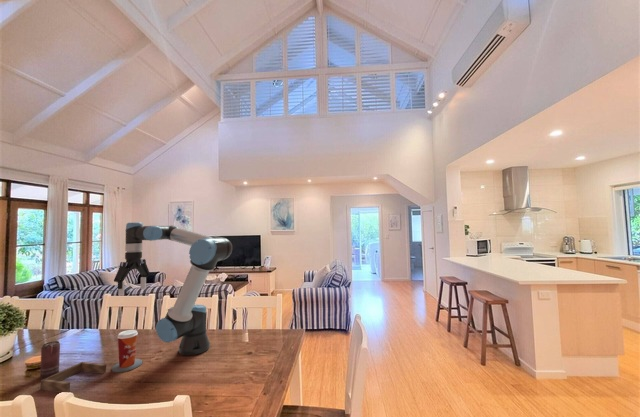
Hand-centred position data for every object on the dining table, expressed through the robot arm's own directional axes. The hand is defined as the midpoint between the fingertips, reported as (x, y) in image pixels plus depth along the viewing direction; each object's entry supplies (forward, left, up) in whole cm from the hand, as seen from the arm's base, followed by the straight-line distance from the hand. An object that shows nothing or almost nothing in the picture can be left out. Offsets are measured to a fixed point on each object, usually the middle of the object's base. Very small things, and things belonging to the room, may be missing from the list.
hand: (132, 292), depth 149 cm
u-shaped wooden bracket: (+2, +26, -32) cm, 41 cm away
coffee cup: (-9, +11, -31) cm, 34 cm away
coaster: (-9, +11, -32) cm, 35 cm away
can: (+18, +25, -32) cm, 44 cm away
